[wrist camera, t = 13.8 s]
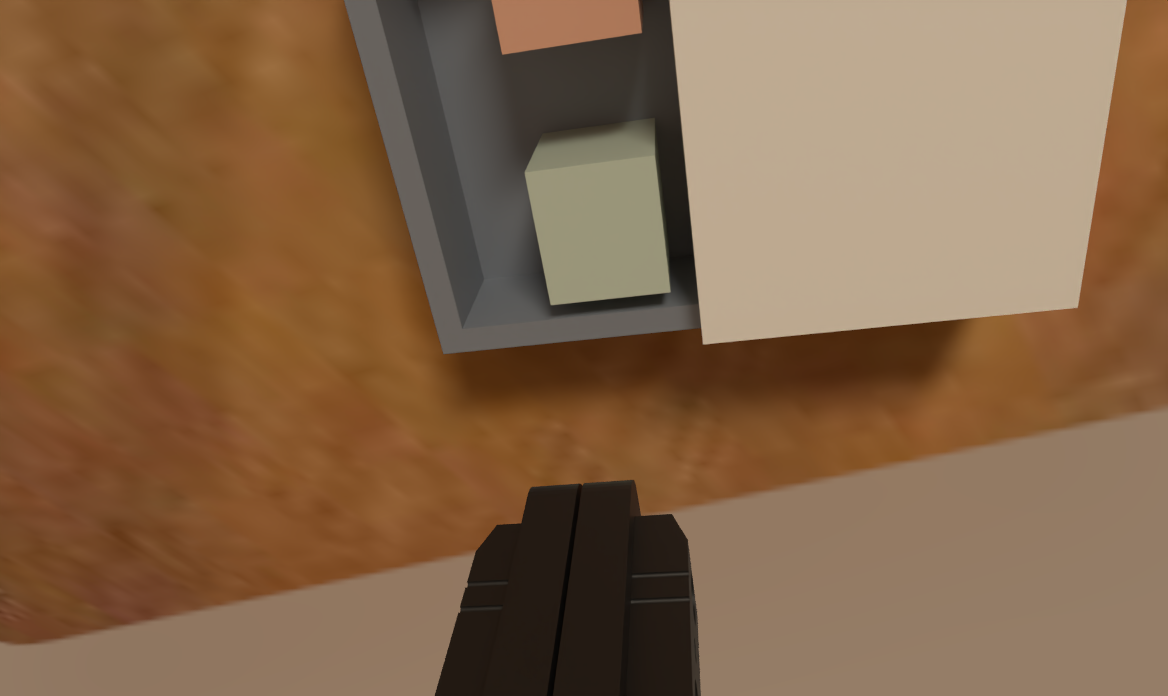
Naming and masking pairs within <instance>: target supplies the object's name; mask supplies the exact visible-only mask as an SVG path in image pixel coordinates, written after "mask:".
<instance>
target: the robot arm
mask: <svg viewBox="0 0 1168 696" xmlns="http://www.w3.org/2000/svg"><path fill="white" fill-rule="evenodd" d="M467 582H468V587H467V588H465V592H464V595H463V599H462V602H461V606H460V608H461V611H460V613H458V616H457V620H456V623H455V627H454V630H453V634H452V637H451V641H450V644H449V648H448V651H447V655H446V658H445V662H444V665H443V669H442V672H441V676H440V679H439V683H438V686H437V690H436V693H435V696H701V691H700V668H699V650H698V648H699V643H698V622H697V609H696V602H695V594H694V586H693V578H692V571H691V562H690V555H689V547H688V540H687V538H686V536H685V535H684V533H683V531H682V530H681V528H680V527H679V525H678V524H677V522H676V520H675V519H674V517H673V515H672V514H666V515H650V516H641V514H640V508H639V502H638V495H637V490H636V485H635V482H634V480H625V481H611V482H596V483H584V484H583V486H582V485H581V484H569V485H555V486H540V487H531V489H530V490H529V493H528V497H527V501H526V505H525V510H524V514H523V519H522V523H521V524H504V525H497V526H496V527H495V528H494V530H493V531H492V532H491V533H490V535H489V536H488V537H487V538H486V540H485V541H484V542H483V543H482V545H481V546H480V547H479V548H478V550H477V551H476V553H475V556H474V560H473V563H472V567H471V571H470V574H469V578H468V581H467Z"/></svg>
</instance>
